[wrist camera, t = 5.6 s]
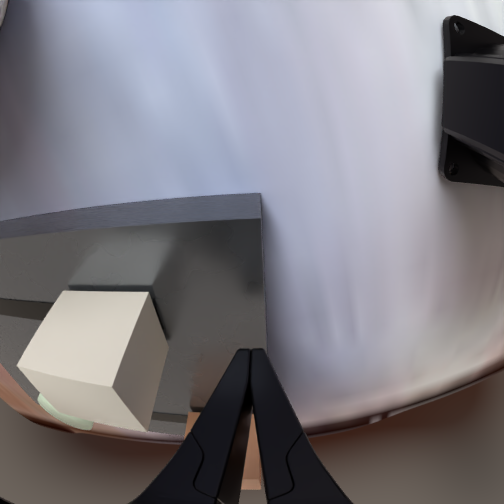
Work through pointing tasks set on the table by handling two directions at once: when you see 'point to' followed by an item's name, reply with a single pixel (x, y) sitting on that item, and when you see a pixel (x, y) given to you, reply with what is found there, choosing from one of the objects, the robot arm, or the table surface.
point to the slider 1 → (99, 357)
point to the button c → (64, 415)
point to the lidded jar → (2, 10)
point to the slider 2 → (252, 456)
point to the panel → (146, 283)
